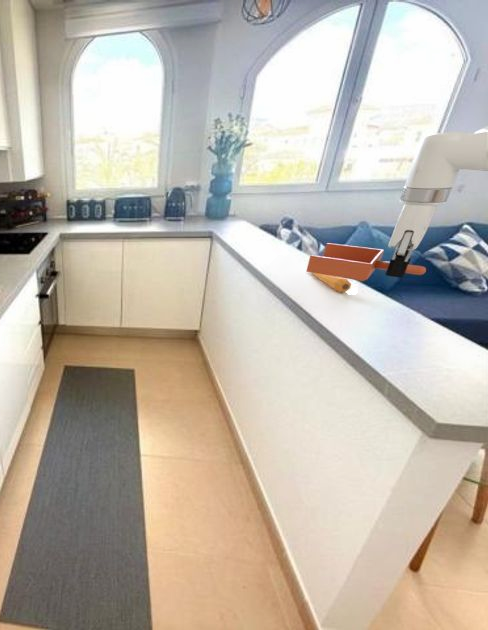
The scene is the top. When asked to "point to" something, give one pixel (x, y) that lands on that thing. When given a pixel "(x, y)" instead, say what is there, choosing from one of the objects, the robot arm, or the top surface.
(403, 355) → the top surface
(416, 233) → the robot arm
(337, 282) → the carrot
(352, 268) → the dustpan
